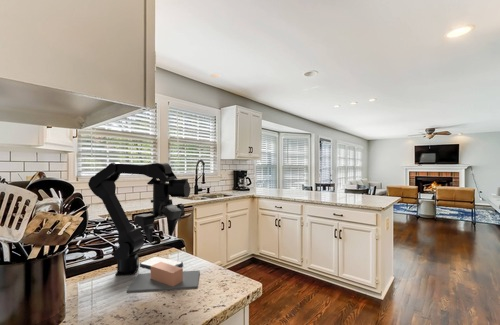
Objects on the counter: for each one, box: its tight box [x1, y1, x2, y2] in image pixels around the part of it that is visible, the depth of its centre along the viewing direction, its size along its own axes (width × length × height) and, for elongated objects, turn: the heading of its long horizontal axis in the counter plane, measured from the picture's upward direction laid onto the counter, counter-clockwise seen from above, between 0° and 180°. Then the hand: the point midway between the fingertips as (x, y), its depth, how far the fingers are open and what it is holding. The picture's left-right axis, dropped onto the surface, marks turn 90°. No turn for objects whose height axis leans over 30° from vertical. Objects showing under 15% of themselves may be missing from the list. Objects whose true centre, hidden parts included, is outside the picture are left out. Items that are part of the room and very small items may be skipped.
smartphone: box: [139, 256, 184, 270], centre depth 100 cm, size 9×2×16 cm
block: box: [150, 262, 184, 286], centre depth 86 cm, size 4×4×11 cm
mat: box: [126, 270, 200, 293], centre depth 87 cm, size 22×12×1 cm, turn 98°
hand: (161, 239), depth 92 cm, fingers open, 9 cm apart
